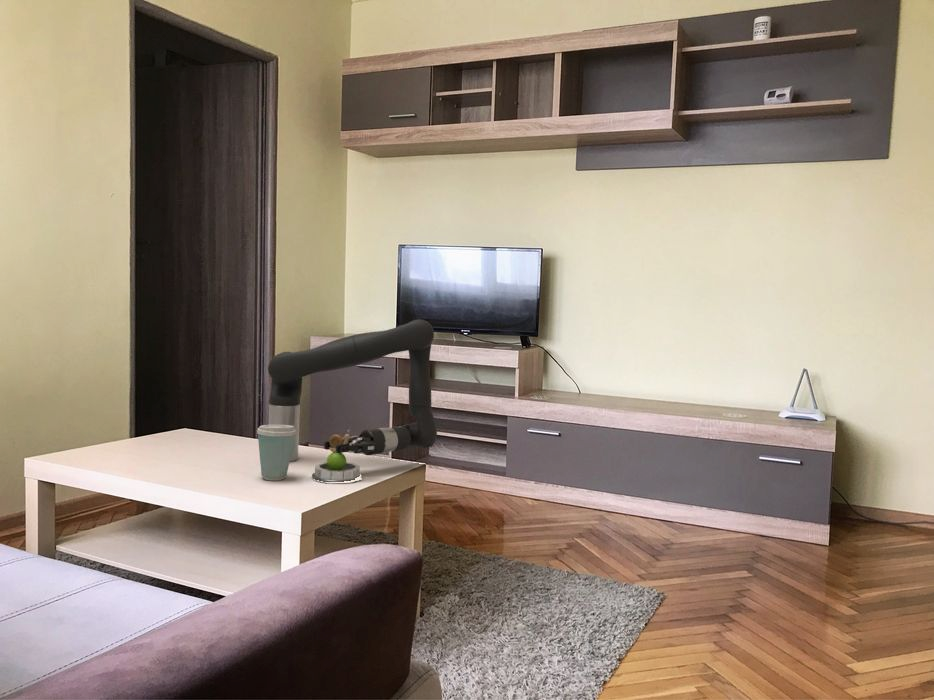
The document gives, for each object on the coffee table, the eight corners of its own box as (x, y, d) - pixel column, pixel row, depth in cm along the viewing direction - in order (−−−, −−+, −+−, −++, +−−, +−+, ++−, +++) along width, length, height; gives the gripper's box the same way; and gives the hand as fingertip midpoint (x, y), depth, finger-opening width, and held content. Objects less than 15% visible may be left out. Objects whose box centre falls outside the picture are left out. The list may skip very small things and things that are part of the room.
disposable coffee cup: (249, 475, 209) (251, 422, 208) (285, 472, 215) (287, 420, 214) (263, 484, 201) (265, 428, 200) (301, 480, 207) (303, 426, 206)
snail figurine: (344, 474, 208) (345, 431, 207) (323, 471, 210) (324, 429, 209) (352, 470, 213) (353, 428, 212) (331, 467, 215) (333, 426, 214)
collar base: (310, 483, 204) (311, 471, 203) (313, 471, 217) (313, 460, 217) (362, 484, 206) (363, 472, 206) (361, 472, 220) (362, 461, 219)
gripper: (364, 424, 226) (316, 430, 214) (394, 432, 216) (346, 438, 204) (363, 449, 226) (315, 456, 214) (393, 458, 216) (345, 465, 204)
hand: (330, 447), depth 209 cm, fingers closed on snail figurine, 5 cm apart
